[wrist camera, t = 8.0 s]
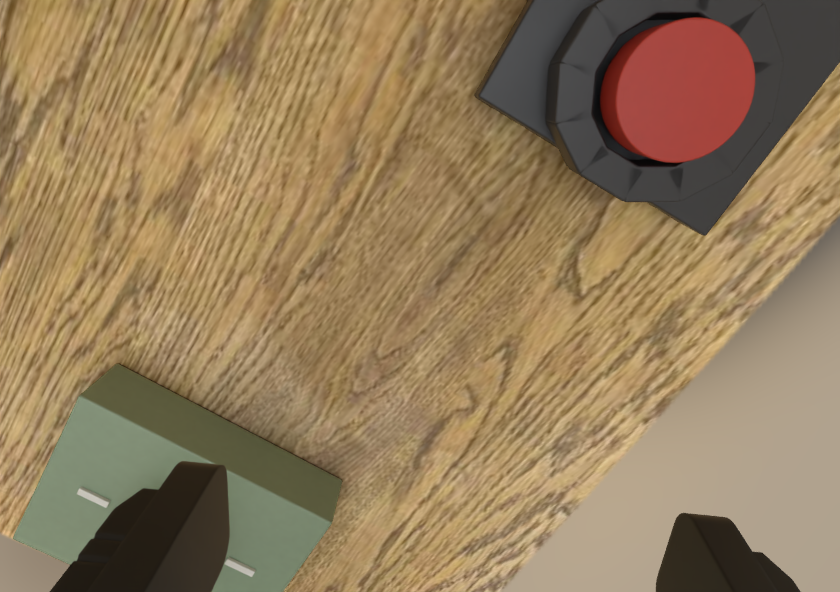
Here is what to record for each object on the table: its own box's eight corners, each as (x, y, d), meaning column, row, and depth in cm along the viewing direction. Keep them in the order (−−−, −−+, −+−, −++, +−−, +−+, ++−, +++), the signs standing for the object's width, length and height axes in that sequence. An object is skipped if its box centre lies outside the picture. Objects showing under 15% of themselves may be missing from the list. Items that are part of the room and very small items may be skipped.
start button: (673, 178, 19) (695, 187, 17) (574, 117, 18) (588, 120, 17) (753, 67, 18) (785, 65, 16) (651, -3, 17) (673, -13, 16)
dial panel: (343, 479, 28) (331, 525, 25) (262, 594, 31) (244, 647, 28) (117, 362, 26) (76, 397, 23) (52, 495, 29) (9, 541, 26)
